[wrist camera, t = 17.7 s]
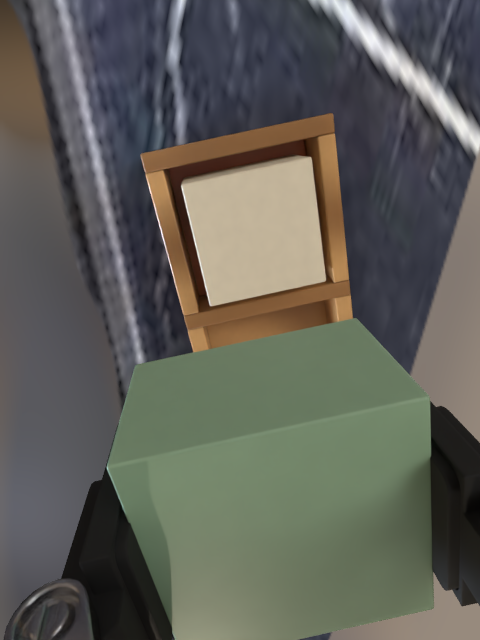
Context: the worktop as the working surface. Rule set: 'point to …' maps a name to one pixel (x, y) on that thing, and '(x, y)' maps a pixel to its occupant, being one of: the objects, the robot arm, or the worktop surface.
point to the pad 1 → (256, 228)
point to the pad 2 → (279, 485)
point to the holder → (165, 187)
